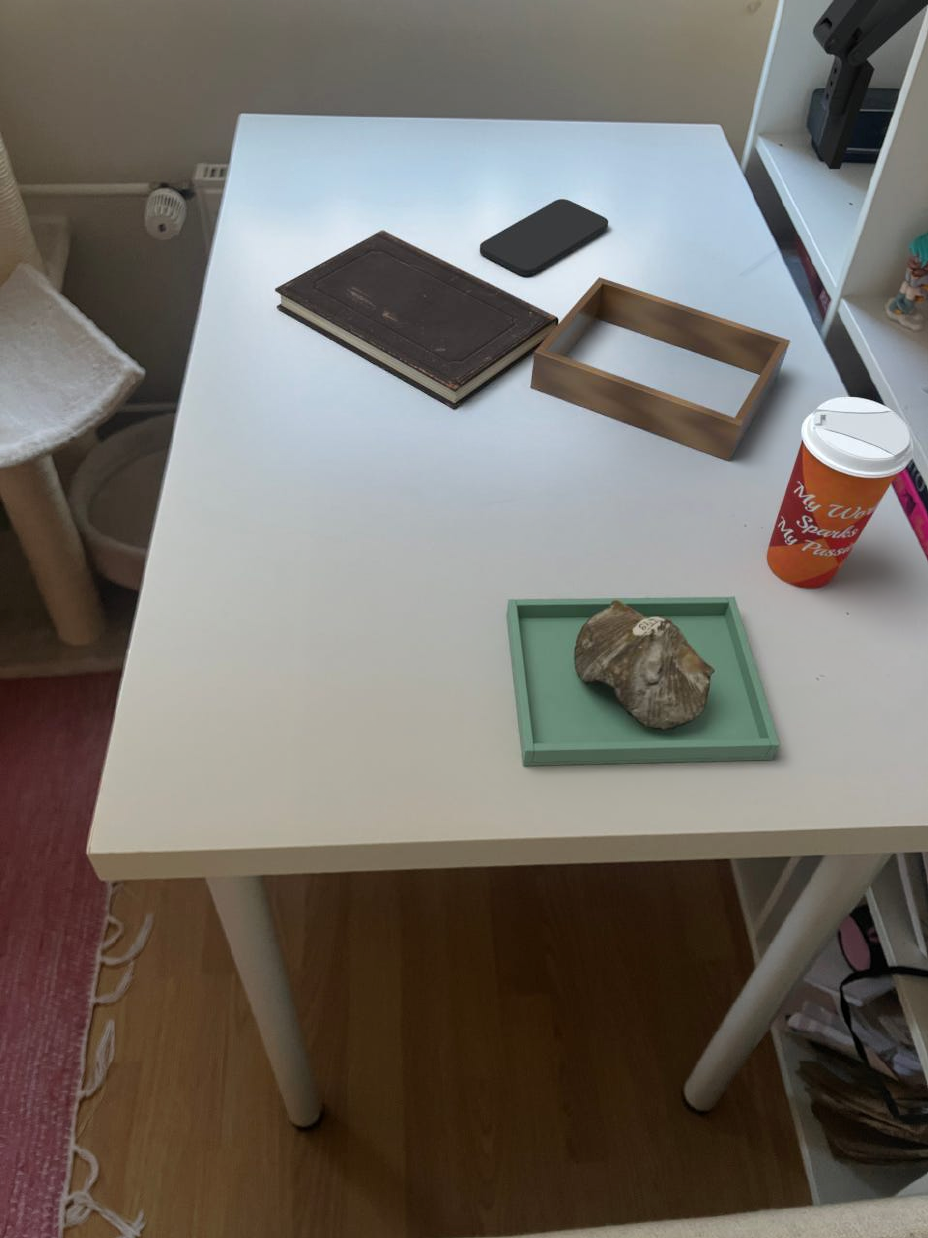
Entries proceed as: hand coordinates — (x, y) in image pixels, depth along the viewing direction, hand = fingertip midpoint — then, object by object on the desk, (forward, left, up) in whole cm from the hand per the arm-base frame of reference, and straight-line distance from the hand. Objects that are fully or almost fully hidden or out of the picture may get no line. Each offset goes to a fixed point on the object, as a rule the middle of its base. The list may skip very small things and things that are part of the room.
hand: (921, 161), depth 70 cm
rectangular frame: (+15, -2, -26) cm, 30 cm away
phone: (+35, -19, -26) cm, 48 cm away
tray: (+3, +33, -26) cm, 42 cm away
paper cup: (-4, +14, -26) cm, 30 cm away
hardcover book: (+39, +2, -26) cm, 47 cm away
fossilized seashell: (+3, +33, -26) cm, 42 cm away
